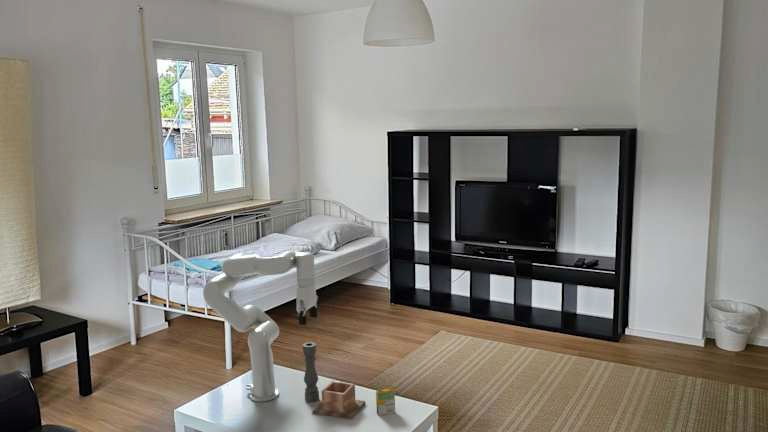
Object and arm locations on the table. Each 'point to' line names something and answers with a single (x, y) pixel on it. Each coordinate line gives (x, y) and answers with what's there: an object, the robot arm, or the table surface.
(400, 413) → the table surface
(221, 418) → the table surface
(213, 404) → the table surface
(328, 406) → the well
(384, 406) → the crayon box
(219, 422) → the table surface
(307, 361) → the candle holder
